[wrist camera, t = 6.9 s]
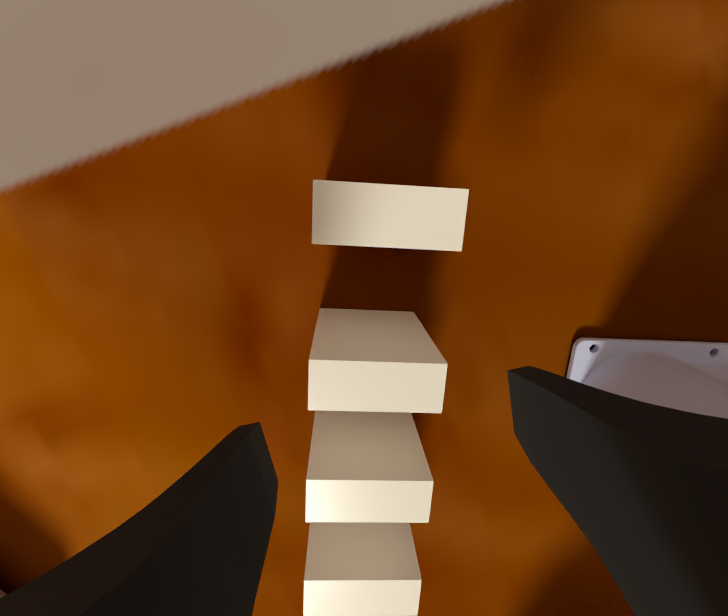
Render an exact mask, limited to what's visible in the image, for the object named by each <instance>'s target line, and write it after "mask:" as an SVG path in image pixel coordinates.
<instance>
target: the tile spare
mask: <svg viewBox="0 0 728 616" xmlns="http://www.w3.org/2000/svg"><path fill="white" fill-rule="evenodd" d="M468 193H469V189H457V188H440V187H424V186H408V185H391V184H375V183H359V182H343V181H326V180H313V212H312V244H327V245H346V246H366V247H386V248H406V249H426V250H445V251H462V243H463V235H464V226H465V218H466V210H467V201H468Z"/></svg>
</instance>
